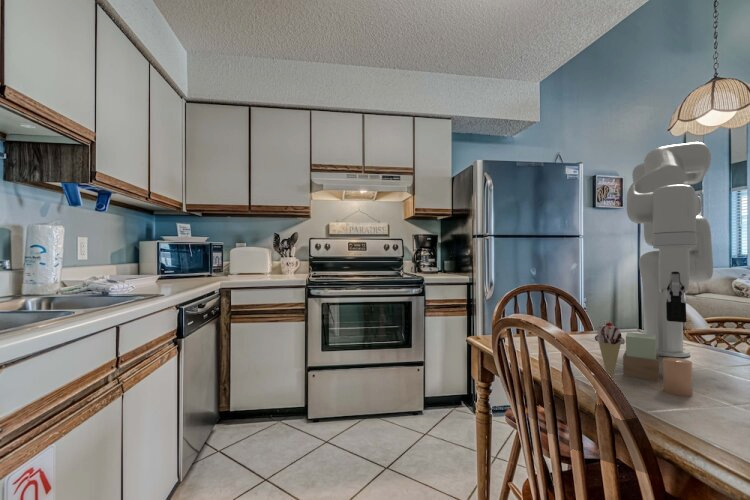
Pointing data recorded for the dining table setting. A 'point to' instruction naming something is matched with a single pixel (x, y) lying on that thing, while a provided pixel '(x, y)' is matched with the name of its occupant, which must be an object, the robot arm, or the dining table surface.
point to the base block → (641, 367)
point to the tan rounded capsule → (677, 376)
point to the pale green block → (641, 345)
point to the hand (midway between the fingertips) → (676, 318)
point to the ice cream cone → (609, 346)
